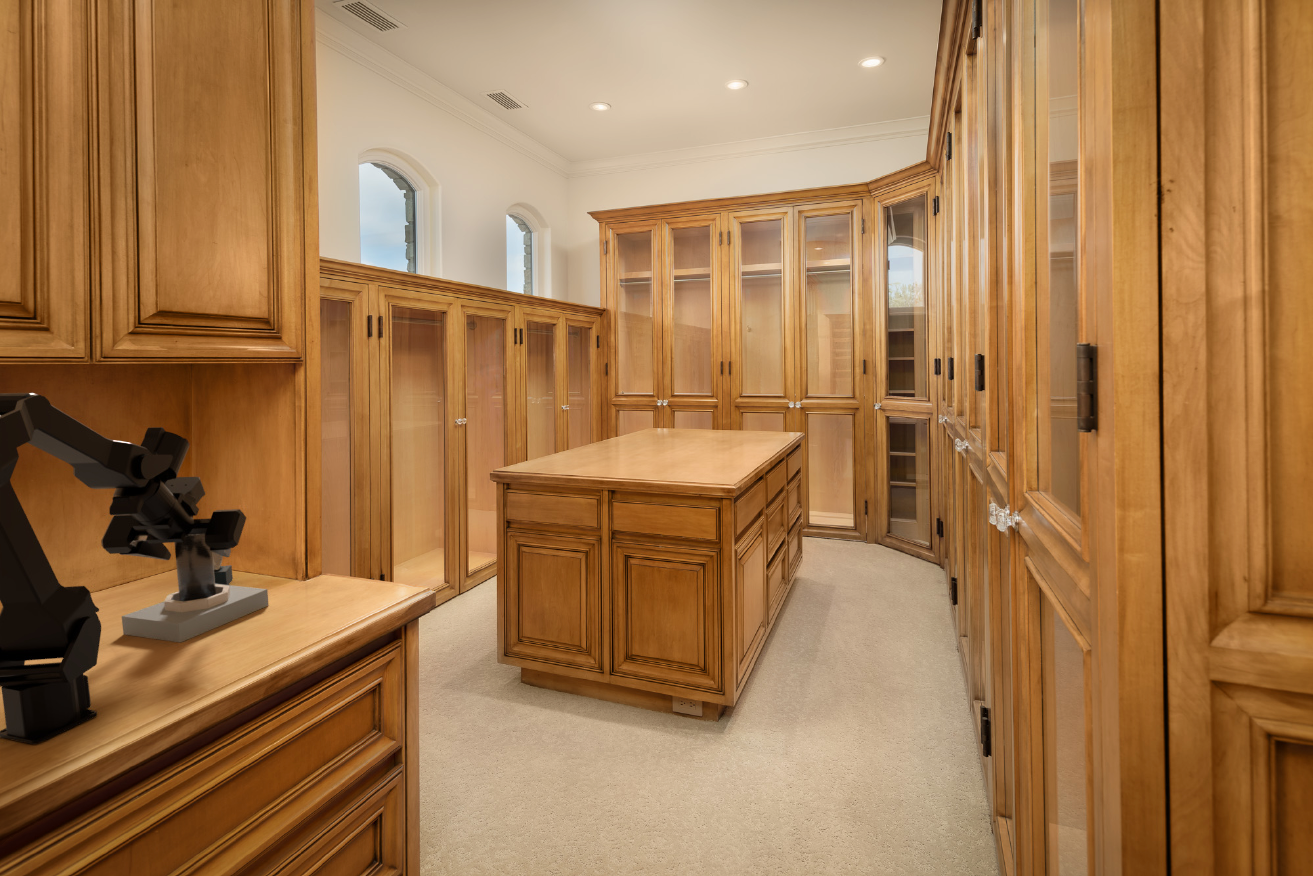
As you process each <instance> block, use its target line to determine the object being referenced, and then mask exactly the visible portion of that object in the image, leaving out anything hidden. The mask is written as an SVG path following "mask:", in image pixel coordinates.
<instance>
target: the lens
mask: <svg viewBox="0 0 1313 876" xmlns="http://www.w3.org/2000/svg"><path fill="white" fill-rule="evenodd" d="M173 543H174V551H175V555H174V556H175V563H176V575H177V577H176V578H177V585H178V588H177V589H178V591H179V599H180V601H191V600H197V599H204V598H208V597H211V596H213V595H216V587H215V575H214V563H213V552H212V551H210V547H208V546H207V545H206V544H205V534H188V535H187V536H185V539H184V541H183V542H173Z"/></svg>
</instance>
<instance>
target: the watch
mask: <svg viewBox="0 0 1313 876" xmlns="http://www.w3.org/2000/svg"><path fill="white" fill-rule="evenodd" d="M212 552H213V551H212ZM223 557H224V556H222V555H219V554H217V553H215V552H213V563H214V575H215V584H223V585H230V584H231V583H232V582H233V581H232V579H233V580H234V578H233V567H232V566H233V565H232V564H229V565H228V564H227V565H222V563H223V559H224V558H223ZM231 581H232V582H231ZM230 582H231V583H230ZM229 583H230V584H229Z"/></svg>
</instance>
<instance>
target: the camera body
mask: <svg viewBox="0 0 1313 876" xmlns="http://www.w3.org/2000/svg"><path fill="white" fill-rule="evenodd" d="M215 587H216V595H213V596H211V597H208V598H204V599H197V600H191V601H180V599H179V590H178V591H176V592H172V593H169V594H167V596H166V597H165V599H164V601H162V602H158V603H156V604H153V605H150V606H147V607H144V608H141V609H139V610H136V611H132V612H130V613H127V614H125V615H122V616H121V625H122V634H123V635H125V636H133V637H139V638H147V639H152V640H160V641H161V640H162V641H167V642H175V643H182V642H185V641H187V640H189V639H192V638H195V637H197V636H199V635H200V636H201V634H204V633H207V632H209V631H212V630H214V629H216V628H218V627H221V626H223V625H226V624H228V623H230V622H232V621H235V620H237V619H240V618H243V617H244V616H247V615H249V614H251V613H254V612H256V611H258V610H261V609H263V608H265V607H268V606H269V605H270V603H269V594H268V593H269V591H268V588H260V587H258V588H257V587H250V586H240V585H232V584H229V585H223V584H215Z"/></svg>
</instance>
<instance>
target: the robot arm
mask: <svg viewBox="0 0 1313 876" xmlns="http://www.w3.org/2000/svg"><path fill="white" fill-rule="evenodd" d="M25 444H29V445H32V446H34V447H35V448H37V449H39V450H41V451H43V452H45V453H47V454H48V455H51V456H53V457H55V458H57V459H59V460H61V461H63V462H65V463H67V464H69V465H70V466H72V468H73V473H72V474H73V476H74V477H75V478H76V479H77V480H79V481H81V483H82V484H84V485H86V487H88V488H89V489H94V490H106V489H107V490H109V489H114V492H113V497H112V498H111V499H112V501H111V503H110V506H109V515H110V516H112V518H111V519H110V521H109V523H108V525H107V527H106V529H105V532H104V534H103V536H102V538H101V541H100V542H101V543H100V545H101V547H102V548H103V549H104V550H105V551H106V552H107V553H108V554H110V555H112V554H113V555H115V554H117V555H118V554H119V555H121V556H132V557H141V558H149V559H155V560H162V561H169V560H170V559H171V557H172V554H171V552H170V551H169V549H168V547H167V546H166V545H165V544H166V543H167V544H168V543H170V544H171V543H174V542H183V541H184V539H185V536H187V535H188V534H205V544H206V545H207V546H208V547H210V551H213V552H215V553H217V554H219V555H222V556H223V557H225V558H230V555H231V553H232V549H233V548H235V547H237V546H238V545H239V542H240V540H241V537H242V532H243V530H244V526H245V523H246V521H247V516H246V515H245V513H244V512H243V511H242V510H241V509H240V508H239V509H238V508H235V509H234V508H233V509H217V510H213V512H212V514H211V516H210V518H193V517H196V516H197V515H198V513H199V510H200V508H199V507H198V506H197V504H198V503H199V502H200V500H201V499H202V498H203V497H204V496H205V495H206V491H205V489H204V486H203V484H202V481H201V477H199V476H178V475H179V472H180V470H181V467H182V465H183V463H184V460H185V458H186V456H187V453H188V451H189V449H190V442H189V440H188V439H187V438H185V437H182V436H180V435H179V434H177V433H173V432H170V431H166V430H165V429H164V427H163V426H161V427H159V426H158V427H156V426H154V427H153V426H152V427H150V426H149V427H147V428H146V431H145V433H144V437H143V440H142V441H141V443H140V445H139V444H136V443H134V442H133V443H132V442H127V441H122V440H115V439H110V438H108V437H106V436H103V435H102V434H100V433H98V432H97V431H95V430H93V429H92V428H90V427H88V426H87V425H86V424H83V423H82V422H80V421H78V420H77V419H75V418H73V417H72V416H71V415H69V414H67V413H66V412H64V411H62V410H61V409H60V408H57V407H56V406H54V405H53V404H51V402H50V401H49V399H48V398H47V397H45V396H44V395H40V394H38V393H34V392H17V393H16V392H12V393H11V392H7V393H1V392H0V603H1V606H2V608H1V611H0V688H1V695H2V704H3V710H4V712H3V713H4V719H5V728H3V729H1V730H0V738H2V739H8V740H10V741H11V740H12V741H17V742H21V743H25V744H30V745H36V744H39V743H40V744H41V742H44V741H47V740H48V739H50V738H52V737H55V736H57V735H59V734H61V733H62V732H65V731H67V730H70V729H72V728H74V727H76V726H77V725H81V724H82V723H85V722H86V721H89V720H91V719H93V718H96V717H97V716H98V711H97V710H93V709H91V707H92V703H91V695H90V694H91V693H90V683H89V677H88V675H85V673H87V672H88V671H89V670H91V669H92V668H94V667H95V666H96V665H97V663H98V656H99V650H100V642H101V635H102V624H101V621H100V619H99V615H98V614H97V613H99V612H100V608H98V606H96V605H95V603H94V601H93V599H92V594H91V591H90V590H89V589H88V588H87V587H86V586H85V585H77V586H76V585H75V586H64V585H62V584H61V583H60V582H59V580H58V578H57V576H56V574H55V572H54V570H53V568H52V566H51V564H50V562H49V560H48V557H47V555H46V553H45V551H44V549H43V547H42V545H41V543H40V541H39V538H38V537H37V534H36V532H35V530H34V529H33V527H32V524H31V523H30V520H29V518H28V517H27V514H26V512H25V511H24V507H23V506H22V504H21V501H20V500H19V498H18V495H17V493H16V492H15V489H14V488H13V486H12V482H11V478H12V476H13V473H14V471H15V468H16V466H17V463H18V461H19V458H20V454H19V452H18V448H19V447H21V446H22V445H25ZM51 659H52V660H53V659H62V660H61V661H60V662H59V661H58V662H46V663H45V662H44V663H31V664H25V663H26V661H40V660H51Z"/></svg>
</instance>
